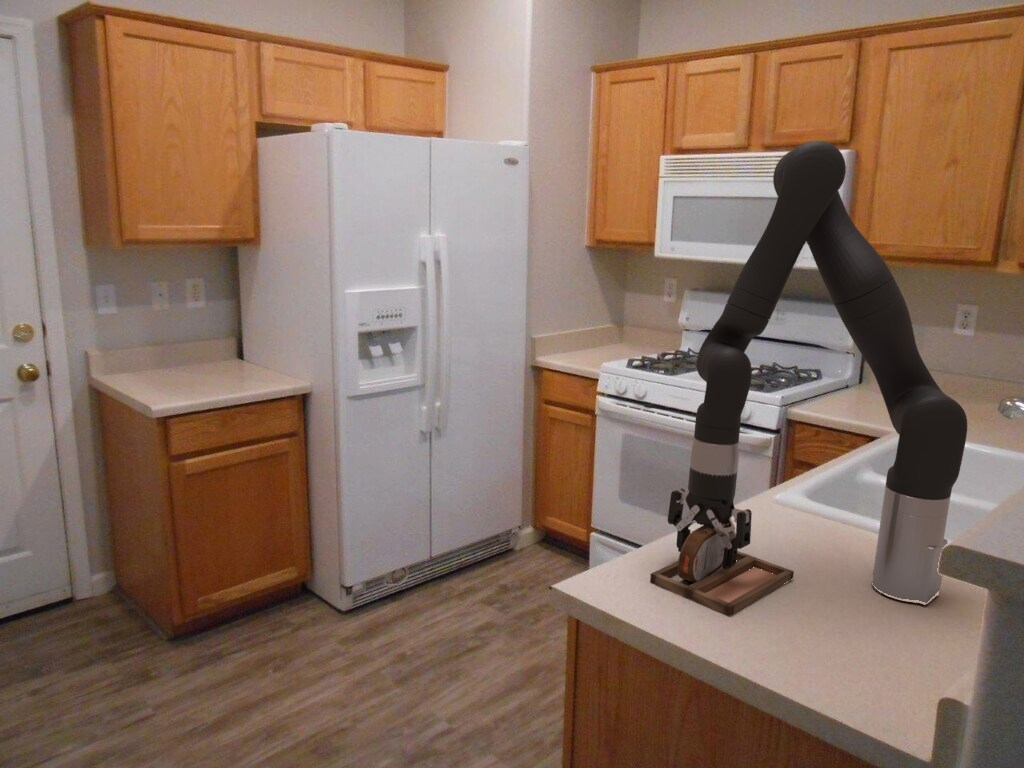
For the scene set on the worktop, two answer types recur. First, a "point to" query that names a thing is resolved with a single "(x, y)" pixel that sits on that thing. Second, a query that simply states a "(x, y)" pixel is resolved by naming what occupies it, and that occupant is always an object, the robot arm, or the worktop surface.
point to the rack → (728, 584)
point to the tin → (700, 554)
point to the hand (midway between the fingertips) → (704, 559)
